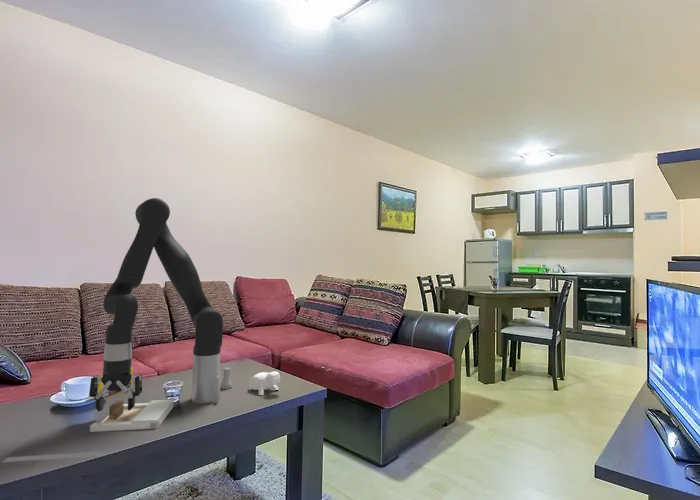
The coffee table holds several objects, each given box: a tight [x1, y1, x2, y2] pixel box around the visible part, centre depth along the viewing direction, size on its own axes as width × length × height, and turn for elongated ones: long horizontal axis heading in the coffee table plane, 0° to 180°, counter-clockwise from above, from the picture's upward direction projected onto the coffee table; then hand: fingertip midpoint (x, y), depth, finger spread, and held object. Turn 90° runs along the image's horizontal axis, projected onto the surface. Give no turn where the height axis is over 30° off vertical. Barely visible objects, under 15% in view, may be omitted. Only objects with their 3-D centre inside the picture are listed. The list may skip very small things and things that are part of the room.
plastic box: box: [89, 399, 175, 433], centre depth 119 cm, size 18×17×3 cm
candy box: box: [97, 366, 134, 398], centre depth 143 cm, size 16×2×8 cm, turn 168°
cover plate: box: [103, 400, 144, 423], centre depth 119 cm, size 14×12×5 cm
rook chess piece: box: [220, 366, 233, 390], centre depth 153 cm, size 4×4×8 cm
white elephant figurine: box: [248, 371, 281, 396], centre depth 148 cm, size 9×8×15 cm
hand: (115, 409), depth 118 cm, fingers open, 8 cm apart
